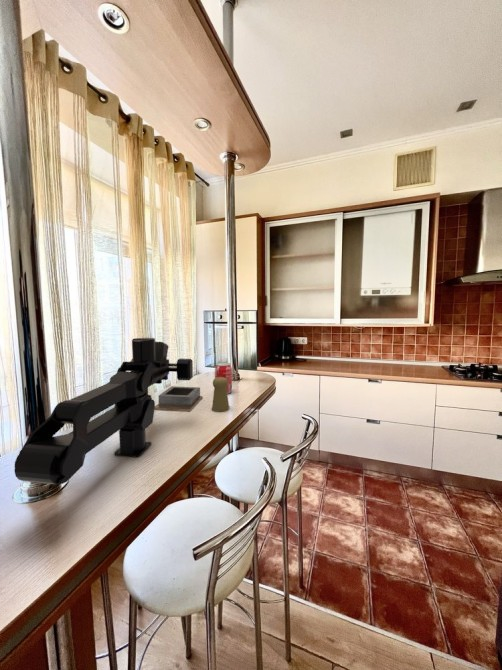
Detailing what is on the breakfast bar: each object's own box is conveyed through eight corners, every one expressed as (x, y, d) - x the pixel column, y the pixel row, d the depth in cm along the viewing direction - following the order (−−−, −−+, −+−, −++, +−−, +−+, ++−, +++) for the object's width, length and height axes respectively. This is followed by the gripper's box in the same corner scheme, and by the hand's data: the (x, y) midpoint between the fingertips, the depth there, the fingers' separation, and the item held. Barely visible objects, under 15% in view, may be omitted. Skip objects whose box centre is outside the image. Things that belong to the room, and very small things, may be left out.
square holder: (190, 411, 95) (189, 399, 95) (153, 409, 97) (153, 397, 96) (202, 398, 109) (202, 387, 109) (170, 396, 111) (169, 386, 110)
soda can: (213, 390, 118) (213, 362, 117) (230, 389, 121) (229, 361, 119) (216, 396, 112) (216, 366, 110) (234, 394, 114) (233, 365, 113)
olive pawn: (230, 406, 101) (230, 375, 100) (227, 412, 95) (227, 380, 94) (214, 405, 101) (213, 375, 100) (209, 411, 95) (209, 379, 94)
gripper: (181, 346, 76) (199, 339, 92) (117, 344, 79) (145, 338, 94) (182, 386, 77) (200, 373, 93) (119, 383, 80) (146, 371, 95)
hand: (172, 363), depth 94 cm, fingers open, 9 cm apart
